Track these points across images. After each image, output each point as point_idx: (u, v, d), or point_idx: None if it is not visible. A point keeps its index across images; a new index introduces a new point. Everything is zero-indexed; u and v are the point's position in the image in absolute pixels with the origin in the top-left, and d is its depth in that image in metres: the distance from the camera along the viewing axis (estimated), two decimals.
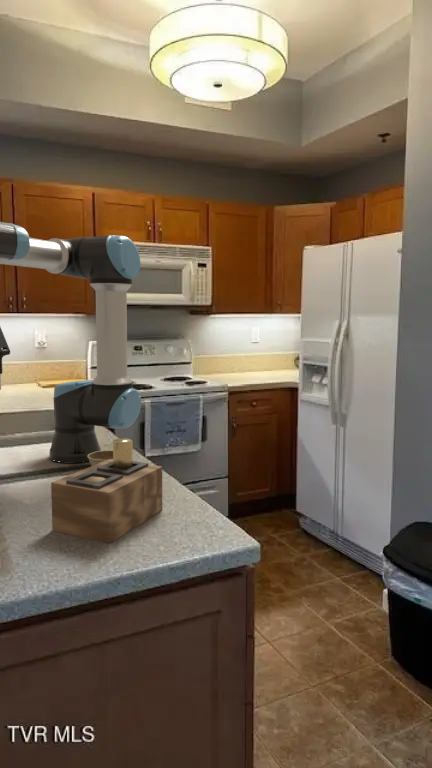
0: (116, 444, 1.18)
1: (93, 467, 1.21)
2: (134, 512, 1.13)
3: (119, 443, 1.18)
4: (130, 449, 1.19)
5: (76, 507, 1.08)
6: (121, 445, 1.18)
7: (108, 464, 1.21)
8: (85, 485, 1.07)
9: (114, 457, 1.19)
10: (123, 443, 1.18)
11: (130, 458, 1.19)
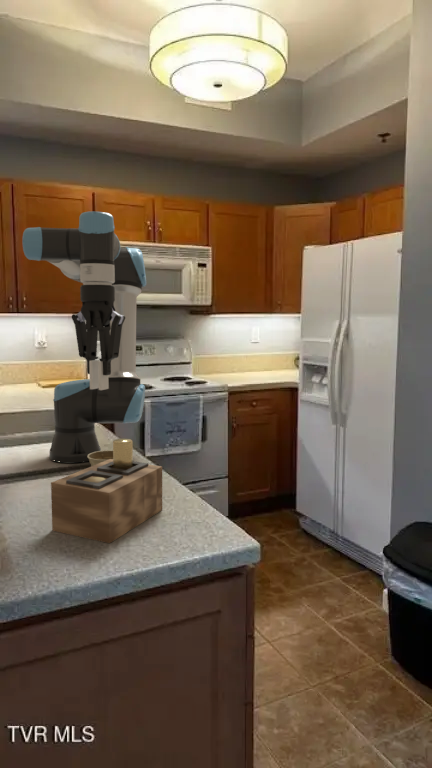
0: (116, 444, 1.18)
1: (93, 467, 1.21)
2: (134, 512, 1.13)
3: (119, 443, 1.18)
4: (130, 449, 1.19)
5: (76, 507, 1.08)
6: (121, 445, 1.18)
7: (108, 464, 1.21)
8: (85, 485, 1.07)
9: (114, 457, 1.19)
10: (123, 443, 1.18)
11: (130, 458, 1.19)
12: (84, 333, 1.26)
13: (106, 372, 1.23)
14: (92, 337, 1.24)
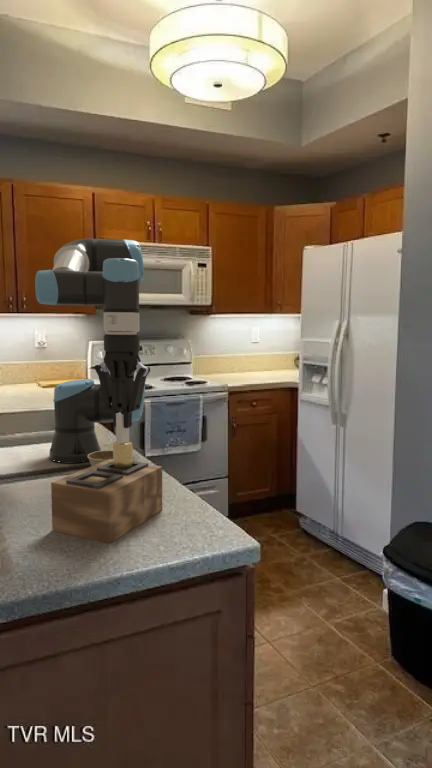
0: (116, 446, 1.18)
1: (93, 467, 1.21)
2: (134, 512, 1.13)
3: (119, 445, 1.18)
4: (130, 451, 1.19)
5: (76, 507, 1.08)
6: (121, 447, 1.18)
7: (108, 464, 1.21)
8: (85, 485, 1.07)
9: (114, 459, 1.19)
10: (123, 445, 1.18)
11: (130, 460, 1.19)
12: (108, 383, 1.19)
13: (127, 425, 1.18)
14: (117, 388, 1.18)
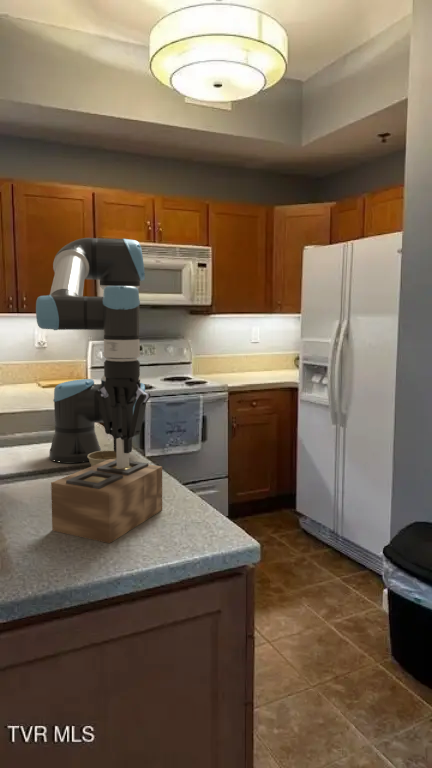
0: None
1: (93, 467, 1.21)
2: (134, 512, 1.13)
3: None
4: None
5: (76, 507, 1.08)
6: None
7: (108, 464, 1.21)
8: (85, 485, 1.07)
9: None
10: None
11: None
12: (109, 408, 1.20)
13: (127, 450, 1.18)
14: (118, 413, 1.18)
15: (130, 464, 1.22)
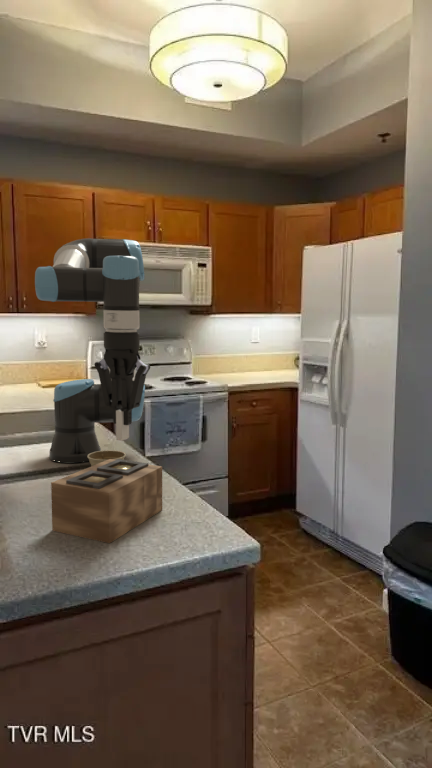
0: None
1: (93, 467, 1.21)
2: (134, 512, 1.13)
3: None
4: None
5: (76, 507, 1.08)
6: None
7: (108, 464, 1.21)
8: (85, 485, 1.07)
9: None
10: None
11: None
12: (108, 380, 1.20)
13: (127, 422, 1.18)
14: (117, 385, 1.18)
15: (130, 464, 1.22)
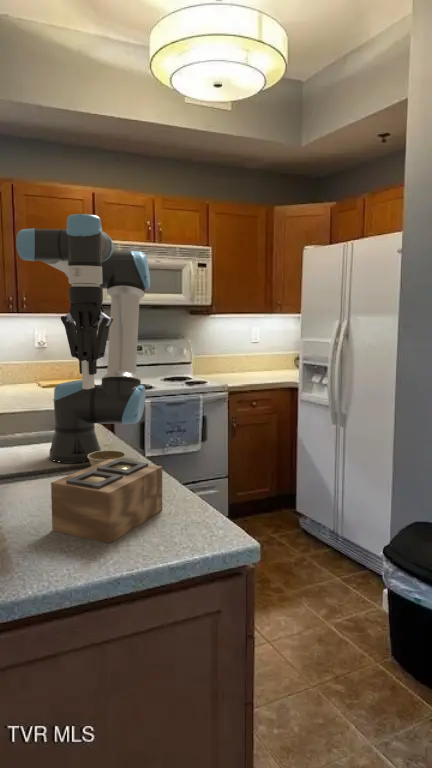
0: None
1: (93, 467, 1.21)
2: (134, 512, 1.13)
3: None
4: None
5: (76, 507, 1.08)
6: None
7: (108, 464, 1.21)
8: (85, 485, 1.07)
9: None
10: None
11: None
12: (74, 333, 1.28)
13: (92, 372, 1.26)
14: (82, 337, 1.26)
15: (130, 464, 1.22)
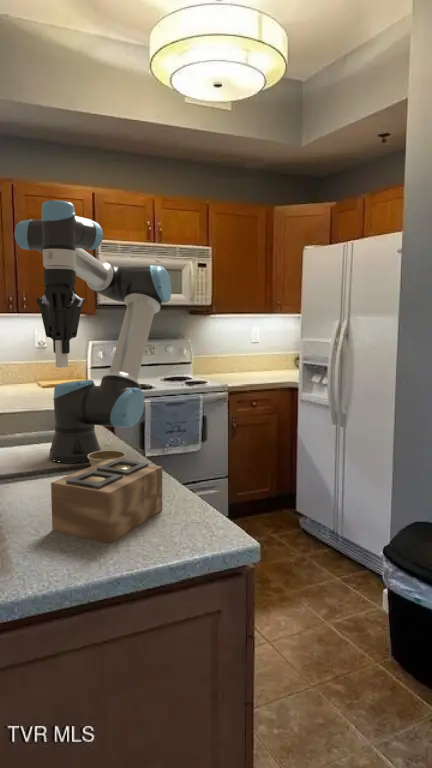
0: None
1: (93, 467, 1.21)
2: (134, 512, 1.13)
3: None
4: None
5: (76, 507, 1.08)
6: None
7: (108, 464, 1.21)
8: (85, 485, 1.07)
9: None
10: None
11: None
12: (49, 315, 1.34)
13: (65, 351, 1.33)
14: (56, 318, 1.32)
15: (130, 464, 1.22)
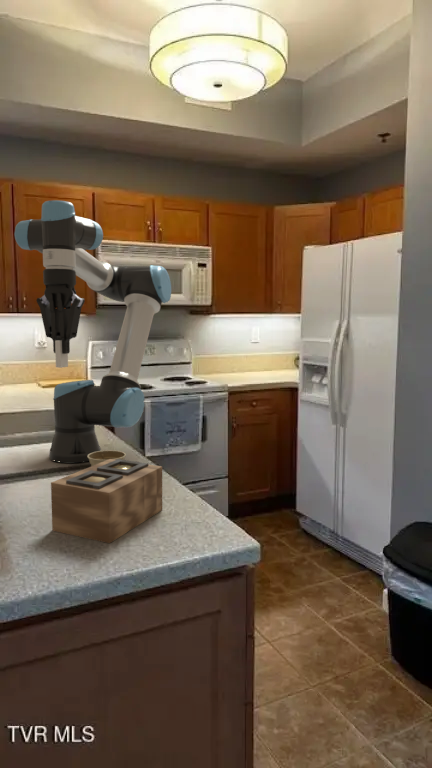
0: None
1: (93, 467, 1.21)
2: (134, 512, 1.13)
3: None
4: None
5: (76, 507, 1.08)
6: None
7: (108, 464, 1.21)
8: (85, 485, 1.07)
9: None
10: None
11: None
12: (49, 315, 1.34)
13: (65, 351, 1.33)
14: (56, 318, 1.32)
15: (130, 464, 1.22)
